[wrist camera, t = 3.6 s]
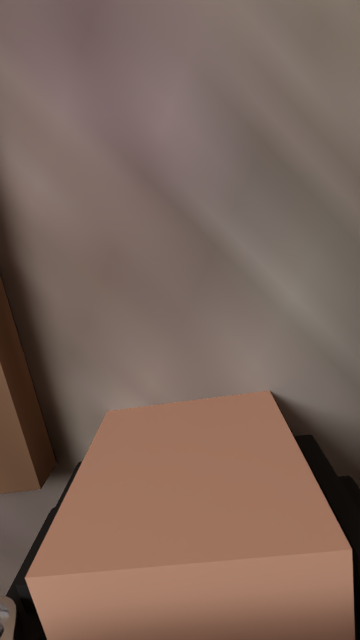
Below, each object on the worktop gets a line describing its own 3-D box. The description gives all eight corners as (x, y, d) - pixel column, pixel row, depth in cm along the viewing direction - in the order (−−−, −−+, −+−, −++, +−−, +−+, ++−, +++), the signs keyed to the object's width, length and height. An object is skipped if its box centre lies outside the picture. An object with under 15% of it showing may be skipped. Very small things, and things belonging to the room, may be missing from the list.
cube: (268, 389, 10) (351, 549, 5) (282, 523, 12) (359, 762, 6) (107, 410, 11) (24, 578, 5) (138, 536, 12) (95, 773, 7)
